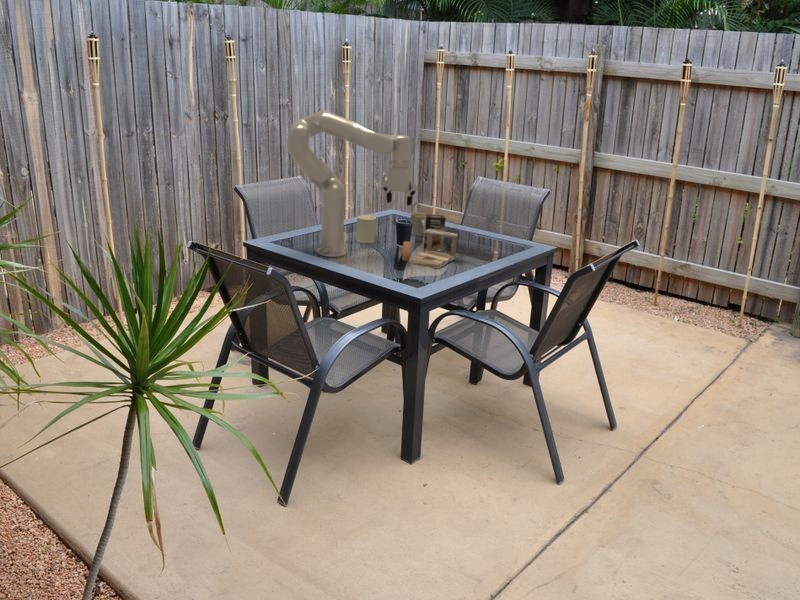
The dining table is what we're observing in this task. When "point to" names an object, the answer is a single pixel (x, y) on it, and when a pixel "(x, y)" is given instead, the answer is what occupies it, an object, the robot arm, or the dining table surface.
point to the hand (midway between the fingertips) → (399, 203)
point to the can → (366, 229)
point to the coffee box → (437, 224)
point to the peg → (406, 251)
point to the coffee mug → (418, 223)
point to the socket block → (434, 257)
